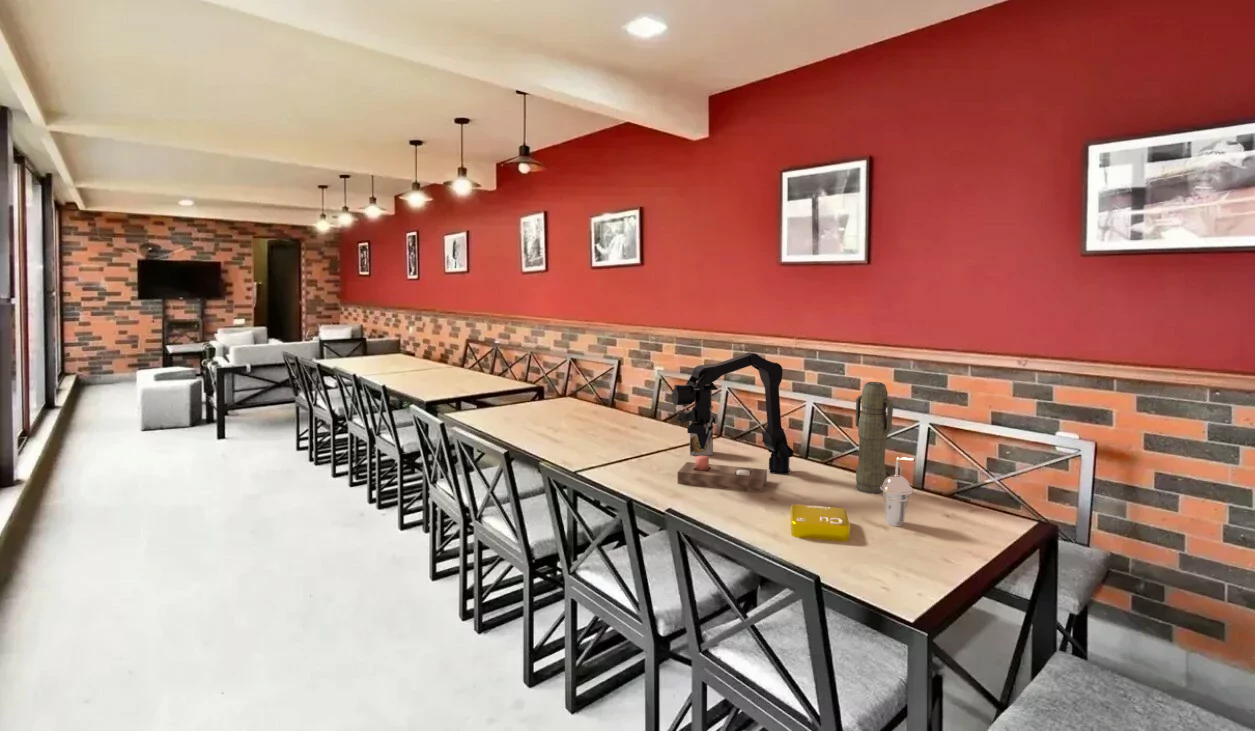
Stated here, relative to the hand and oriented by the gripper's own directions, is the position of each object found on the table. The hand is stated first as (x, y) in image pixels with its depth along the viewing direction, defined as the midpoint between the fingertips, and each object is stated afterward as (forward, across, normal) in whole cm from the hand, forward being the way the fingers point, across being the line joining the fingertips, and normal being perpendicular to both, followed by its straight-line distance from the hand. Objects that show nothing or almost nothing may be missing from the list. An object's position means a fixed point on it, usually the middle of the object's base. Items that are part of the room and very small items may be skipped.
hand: (702, 448), depth 215 cm
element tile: (+12, +31, +40) cm, 52 cm away
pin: (+11, 0, +14) cm, 18 cm away
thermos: (+11, -8, +54) cm, 56 cm away
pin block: (+11, 0, +7) cm, 13 cm away
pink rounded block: (+7, 0, 0) cm, 7 cm away
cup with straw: (+11, +20, +60) cm, 64 cm away
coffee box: (+11, -32, -8) cm, 35 cm away
